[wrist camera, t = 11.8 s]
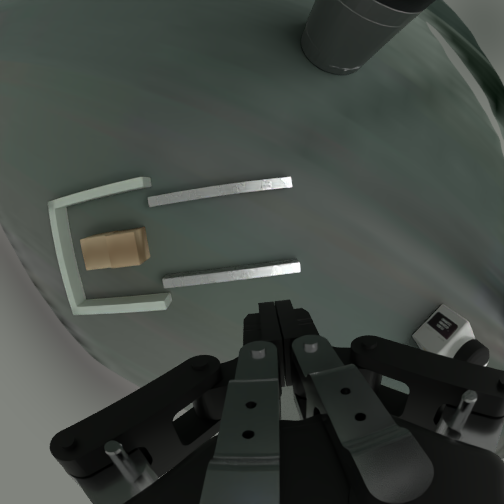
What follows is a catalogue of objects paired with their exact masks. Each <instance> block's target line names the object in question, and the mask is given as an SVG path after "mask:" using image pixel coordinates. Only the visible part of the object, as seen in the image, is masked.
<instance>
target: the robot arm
mask: <svg viewBox="0 0 504 504" xmlns="http://www.w3.org/2000/svg"><path fill="white" fill-rule="evenodd" d="M434 1H435V0H315V3H314V5H313V8H312V10H311V12H310V15H309V17H308V20H307V22H306V27H305V29H304V32H303V35H302V37H301V46H302V49H303V51H304V54H305V55H306V56H307V58H308V59H309V60H310V61H311V62H312V63H313V64H314V65H316V66H317V67H319V68H320V69H322V70H324V71H326V72H329V73H333V74H339V75H346V74H351V73H353V72H355V71H357V70H358V69H359V68H360V67H361V66H362V65H364V64H365V63H366V62H367V61H368V60H369V59H370V58H371V57H372V56H373V55H374V54H375V53H377V52H378V51H379V50H380V49H381V48H382V47H383V46H384V45H385V44H386V43H387V42H388V41H390V40H391V39H392V38H393V37H394V36H395V35H396V34H397V33H398V32H399V31H401V30H402V29H403V28H404V27H405V26H406V25H407V24H409V22H411V21H412V20H413V19H414V18H415V17H416V16H418V15H419V14H420V13H421V12H422V11H423V10H425V9H426V8H427V7H428V6H429V5H430V4H431V3H433V2H434ZM258 304H259V313H255V314H248V315H247V316H246V317H245V319H244V329H243V330H244V331H243V347H242V348H241V349H240V351H239V356H238V357H237V358H235V359H233V360H231V361H228V362H224V363H221V364H220V361H219V360H218V359H217V358H216V357H214V356H210V355H199V356H195V357H192V358H190V359H188V360H186V361H185V362H183V363H182V364H180V365H178V366H177V367H175V368H173V369H172V370H170V371H168V372H167V373H165V374H164V375H162V376H160V377H159V378H157V379H155V380H153V381H152V382H150V383H148V384H147V385H145V386H143V387H142V388H140V389H138V390H137V391H135V392H133V393H131V394H130V395H128V396H126V397H124V398H122V399H121V400H119V401H117V402H115V403H113V404H112V405H110V406H108V407H106V408H104V409H103V410H101V411H99V412H97V413H95V414H93V415H91V416H89V417H87V418H86V419H84V420H82V421H80V422H78V423H76V424H74V425H72V426H70V427H68V428H66V429H64V430H62V431H60V432H59V433H57V434H56V435H55V436H54V437H53V438H52V440H51V443H50V451H51V453H52V455H53V456H54V457H55V458H56V459H57V461H58V462H59V463H60V464H61V465H62V466H63V467H64V469H65V471H66V472H67V473H68V474H69V475H70V477H71V478H72V479H73V480H75V482H76V483H77V484H78V485H79V486H80V487H81V488H82V489H83V491H84V492H85V493H86V495H87V496H88V498H89V499H90V501H91V502H92V503H93V504H504V462H503V460H502V459H501V458H500V457H499V456H498V455H496V454H495V451H496V448H497V445H498V441H499V438H500V434H501V430H502V426H503V422H504V371H502V370H498V369H494V368H489V367H485V366H481V365H477V364H473V363H469V362H465V361H461V360H458V359H454V358H450V357H446V356H443V355H439V354H435V353H432V352H428V351H424V350H421V349H417V348H414V347H410V346H407V345H404V344H400V343H397V342H394V341H390V340H387V339H384V338H380V337H377V336H370V335H368V336H361V337H358V338H356V339H354V340H353V341H352V343H351V348H339V347H333V346H331V344H330V343H329V341H328V340H327V339H326V338H324V337H322V336H320V335H319V333H318V331H317V329H316V327H315V325H314V323H313V321H312V319H311V316H310V314H309V312H307V311H306V310H304V309H303V308H299V309H293V306H292V304H291V301H290V300H282V301H275V306H274V302H264V303H258ZM382 375H384V376H387V377H389V378H392V379H395V380H398V381H401V382H403V383H405V384H406V385H407V386H408V387H409V389H410V393H409V395H408V394H405V393H402V392H400V391H397V390H394V389H391V388H389V387H386V386H383V385H381V380H382ZM284 376H285V379H284ZM285 381H286V386H291V385H293V392H294V401H295V404H296V407H297V410H298V413H299V416H300V419H301V420H299V421H292V420H281V399H280V396H281V394H282V389H281V387H284V386H285ZM192 402H193V406H194V407H193V408H191V409H190V410H189V411H187V412H186V413H185V414H183V415H182V416H180V417H179V418H177V419H176V420H175V421H173V418H174V416H175V415H176V414H177V413H178V412H179V411H181V410H182V409H183V408H185V407H186V406H188V405H189V404H190V403H192ZM218 432H219V433H218ZM216 433H218V435H217V436H214V435H215V434H216ZM213 436H214V437H213ZM174 466H175V467H174ZM170 469H171V470H170ZM166 472H167V473H166ZM165 473H166V474H165ZM163 474H164V475H163ZM162 475H163V476H162ZM161 476H162V477H161ZM159 477H160V478H159ZM158 478H159V479H158Z"/></svg>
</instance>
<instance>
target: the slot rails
mask: <svg viewBox="0 0 504 504" xmlns="http://www.w3.org/2000/svg"><path fill="white" fill-rule="evenodd" d="M288 187H292V181H291V177H284V178H274V179H265V180H256V181H248V182H240V183H232V184H225V185H218V186H211V187H204V188H198V189H192V190H186V191H180V192H174V193H168V194H163V195H157V196H152V197H148V203H149V207H153V206H158V205H164V204H170V203H176V202H182V201H188V200H194V199H201V198H208V197H214V196H221V195H229V194H236V193H244V192H252V191H260V190H269V189H278V188H288ZM296 272H300V262H299V261H298V259H297V258H296V259H288V260H280V261H272V262H265V263H257V264H249V265H241V266H233V267H225V268H217V269H208V270H200V271H192V272H183V273H175V274H166V275H165V277H164V278H163V279H162V281H163V285H164V288H171V287H181V286H190V285H199V284H208V283H216V282H225V281H233V280H242V279H250V278H258V277H265V276H273V275H281V274H288V273H296Z"/></svg>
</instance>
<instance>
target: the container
mask: <svg viewBox="0 0 504 504" xmlns="http://www.w3.org/2000/svg"><path fill="white" fill-rule="evenodd" d="M412 337H413V339H414V340H415V342H416V343H417V345H418V346H419V348H420V349H421V350H424V351H428V352H432V353H435V354H439V355H443V356H446V357H450V358H454V359H458V360H461V361H465V362H469V363H473V364H477V365H481V366H485V367H486V365H487V363H488V360H489V350H488V348H487V347H485V346H484V345H483V344H481V343H480V342H479V341H478V340H476V339H475V336H474V334H473V331H472V328H471V326H470V323H469V321H467V320H466V319H464V318H463V317H461V316H460V315H459V314H457V313H456V312H454V311H453V310H451V309H450V308H448V307H447V306H445V305H444V304H442V305H441V306H440V307H439V308H438V309H437V310H436V311H435V312H434V313H433V314H432V315H431V317H430V318H429V319H428V320H427V321H426V322H425V323H424V324H423V325H422V326H421V327H420V328H419V329H418V330H417V331H416V332H415V333H414V334H413V335H412Z"/></svg>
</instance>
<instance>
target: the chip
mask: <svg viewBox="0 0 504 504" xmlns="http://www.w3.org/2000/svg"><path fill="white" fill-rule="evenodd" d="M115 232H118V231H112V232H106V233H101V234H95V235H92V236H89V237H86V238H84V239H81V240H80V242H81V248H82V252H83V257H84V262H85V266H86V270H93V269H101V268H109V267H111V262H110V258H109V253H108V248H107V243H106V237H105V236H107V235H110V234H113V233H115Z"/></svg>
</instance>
